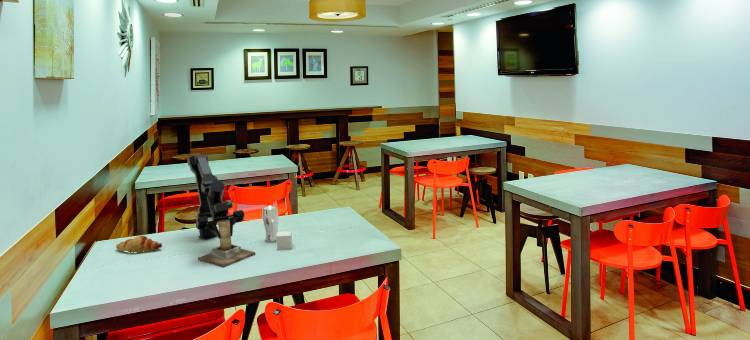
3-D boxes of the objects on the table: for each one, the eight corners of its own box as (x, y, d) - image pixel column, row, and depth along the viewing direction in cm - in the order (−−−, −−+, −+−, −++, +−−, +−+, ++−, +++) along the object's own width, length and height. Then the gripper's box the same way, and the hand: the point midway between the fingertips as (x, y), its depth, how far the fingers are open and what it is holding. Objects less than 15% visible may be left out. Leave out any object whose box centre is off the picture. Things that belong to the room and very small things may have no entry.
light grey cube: (292, 244, 206) (291, 231, 205) (291, 248, 200) (290, 235, 199) (278, 245, 205) (277, 232, 204) (277, 249, 200) (276, 236, 198)
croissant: (113, 260, 204) (105, 247, 199) (124, 242, 211) (117, 230, 206) (160, 259, 202) (153, 246, 197) (169, 241, 210) (162, 229, 205)
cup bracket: (230, 247, 204) (229, 239, 203) (255, 254, 195) (254, 245, 194) (198, 259, 191) (197, 250, 190) (223, 267, 182) (222, 257, 181)
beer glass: (281, 237, 216) (279, 205, 213) (277, 242, 209) (274, 209, 206) (267, 237, 217) (264, 205, 214) (262, 242, 210) (259, 209, 207)
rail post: (223, 249, 194) (220, 219, 192) (233, 249, 194) (230, 219, 192) (219, 253, 190) (216, 222, 188) (229, 253, 190) (227, 222, 188)
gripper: (194, 198, 186) (204, 231, 179) (241, 191, 196) (251, 222, 189) (192, 212, 194) (201, 245, 187) (237, 205, 204) (247, 236, 197)
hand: (225, 237), depth 190 cm, fingers closed on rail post, 4 cm apart
